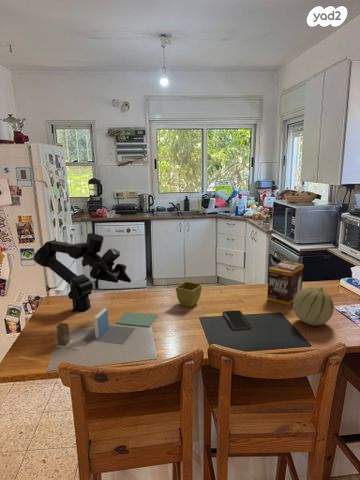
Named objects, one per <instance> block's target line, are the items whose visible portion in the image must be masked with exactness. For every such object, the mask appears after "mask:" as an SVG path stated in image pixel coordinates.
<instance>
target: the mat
mask: <svg viewBox="0 0 360 480" xmlns="http://www.w3.org/2000/svg"><path fill="white" fill-rule="evenodd" d="M136 329H137V328H136V327H127V326H118V325H111V324H109V328H108V329H107V330H106V331H105V332H104V334H103V335H102V336H101V337H100V338H95V326H94V327H93V328H91V330H89V331H88V333H87V334H86V335H85V336H84V337H83V338H82V339H81V340H84V341H90V342H91V341H92V342H99V343H101V342H102V343H106V344H107V343H108V344H116V345H124V344H125V343H126V341H127V340H128V339H129V338H130V337H131V335H132V334H133V333H134V331H135V330H136Z"/></svg>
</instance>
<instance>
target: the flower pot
mask: <svg viewBox="0 0 360 480" xmlns="http://www.w3.org/2000/svg"><path fill="white" fill-rule="evenodd" d="M202 286H203V285H202V284H200V283H197V282H196V283H195V282H191V281H184V282H182V283H181V284H179V285H177V286H176V287H175V292H176V297H177V300H178V303H179V304H181V306H184V307H188V308H192V307H193V306H195V305H196V304H197V303H198V302H199V299H200V298H201V293H202Z"/></svg>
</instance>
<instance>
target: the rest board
mask: <svg viewBox="0 0 360 480" xmlns="http://www.w3.org/2000/svg"><path fill="white" fill-rule="evenodd" d="M157 318H158V314H151V313H143V312H133V311H132V312H131V311H125V312H124V313H123V315H121V317H120V318H118V320H117V321H116V322H115V323H116V325H125V326H126V325H127V326H134V327H136V326H137V327H145V328H150V327H151V326H152V324H154V322H155V320H156V319H157Z"/></svg>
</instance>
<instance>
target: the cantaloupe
mask: <svg viewBox="0 0 360 480" xmlns="http://www.w3.org/2000/svg"><path fill="white" fill-rule="evenodd" d="M292 307H293V311H294V315H295V316H296V317H297V319H299V320H300V321H301V322H303V323H305V324H307V325H310V326H321V325H324V324H326V323H328V321H329V320H330V319H331V318H332V316H333V314H334V310H335V304H334V301H333V299H332V297H331V295H330V294H329V293H328V292H327V291H325V290H324V289H323V286H320V287H317V286H307V287H304V288H302V290H300V291H299V292H298V293H297V294H296V296H295V298H294V301H293V302H292Z"/></svg>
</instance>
